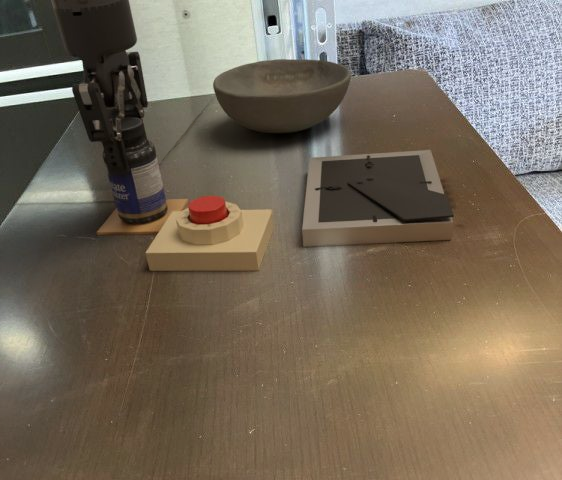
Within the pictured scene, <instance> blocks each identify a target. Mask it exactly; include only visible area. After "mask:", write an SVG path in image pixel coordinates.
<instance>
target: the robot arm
mask: <svg viewBox="0 0 562 480" xmlns="http://www.w3.org/2000/svg"><path fill="white" fill-rule="evenodd" d="M50 2H51V4H52V8H53V12H54V15H55V19H56V24H57V26H58V29H59V33H60V37H61V40H62V43H63V47H64V50H65V52H66V53H67V55H69V56H71V57H74V58H75V57H77V58H78V59H80V61H81V63H82V71H83V81H82V82H80V83H73V84H72V86H71V90H72V95H73V98H74V100H75V103H76V106H77V109H78V112H79V114H80V117H81V120H82V123H83V126H84V128H85V131H86V134H87V137H88V140H89V141H90V143H96V142H97V143H101V144H102V147H103V151H105V155H106V159H107V162H108V166H109V170H110V172H111V173H112V174H113V175H125V174H127V173H128V172H129V171H130V165H129V161H128V157H127V153H126V149H125V145H124V141H123V139H122V131H121V119H122V118H127V117H134V118H139V119H141V120H142V121H143V125H144V126H145V124H144V118H145V110H144V108H145V109H147V108H148V107H149V105H148V104H149V101H148V96H147V89H146V84H145V78H144V73H143V68H142V61H141V55H140V53H139V51H128V50H130V49H132V48H133V47H135V46H136V44H137V43H138V37H137V32H136V28H135V23H134V18H133V13H132V8H131V4H130V0H50ZM107 108H110V109H107ZM111 120H112V125H111V122H110V121H111ZM112 126H113V128H112ZM144 138H145V139H147V140H148V137H147V131H145V133H144Z"/></svg>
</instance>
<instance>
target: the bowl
mask: <svg viewBox="0 0 562 480" xmlns="http://www.w3.org/2000/svg"><path fill="white" fill-rule="evenodd" d="M351 79H352V72H351V70H350V69H349V68H348V67H346V66H345V65H343V64H339V63H336V62H333V61H329V60H322V59H321V60H320V59H308V58H307V59H306V58H305V59H293V58H292V59H288V58H287V59H286V58H285V59H284V58H279V59H278V58H277V59H271V60H270V59H269V60H267V59H266V60H260V61H255V62H250V63H245V64H241V65H239V66H236V67H233V68H231V69H228V70H226V71H223V72H221V73H220V74H218V75H217V76H216V77H215V78H214V79H213V81H212V87H213V93H214V94H215V97H216V100H217V103H218V104H219V106H220V107H221V109H222V110H223V112H224V113H225V114H226V115H227V116H228V117H229V118H230V119H231V120H232V121H233V122H235V123H236V124H237V125H239V126H241V127H243V128H246V129H248V130H251V131H255V132H259V133H264V134H290V133H297V132H301V131H305V130H308V129H310V128H312V127H314V126H316V125H318V124H320V123H321V122H323V121H324V120H326V119H327V118H329V117H330V116H331V115H332V114H333V113H334V112H335V111H336V110H337V109H338V107H339V106H340V104H342V102H343V100H344V98H345V96H346V94H347V92H348V89H349V86H350V83H351Z"/></svg>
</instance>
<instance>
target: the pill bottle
mask: <svg viewBox="0 0 562 480" xmlns="http://www.w3.org/2000/svg"><path fill="white" fill-rule="evenodd" d="M110 122H111V125H112V119H110ZM143 123H144V120H143V121H142V120H141V119H139V118H134V117H127V118H122V119H121V131H122V139H123V141H124V145H125V149H126V153H127V157H128V161H129V165H130V171H129V172H128V173H127V174H125V175H113V174H112V173H111V172H110V170H109V166H108V162H107V159H106V155H105V151H104V150H102V158H103V163H104V165H105V171H106V174H107V177H108V182H109V185H110V189H111V193H112V196H113V200H114V203H115V207H116V208H117V211H118V215H119V218H120V219H121V220H122V221H124V222H126V223H131V224H144V223H148V222H152V221H154V220H157V219H159V218H161V217H162V216H163V215H164V214H165V213H166V212H167V209H168V208H167V202H166V199H167V198H166V193H165V188H164V184H163V183H164V182H163V179H162V175H161V169H160V164H159V161H158V155H157V150H156V147H155V145H154V143H153V142H152V141H151V140H149V139H148V138H147V139H145V138H144V133H145V132H146V128H145V124H144V125H143ZM112 128H113V126H112ZM116 208H115V209H116Z"/></svg>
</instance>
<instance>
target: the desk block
mask: <svg viewBox="0 0 562 480" xmlns="http://www.w3.org/2000/svg"><path fill="white" fill-rule="evenodd" d="M225 202H226V209H227V215H228V216H227V218H225V219H224V220H222V221H220V222H216V223H212V224H206V225H197V224H194V223H192V222H191V219H190V214H189V209H188V207H187V208H184V210H183V211H173V212H172V213H171V214H170V216H169V217H168V219H167V221H166V222H165V224H164V225H163V227H162V228H161V230H160V231H159V233H158V234H156V236H155V238H154V239H153V240H152V242H151V243H150V245H149V246H148V248H147V249H146V251H145V253H144V254H145V258H146V261H147V265H148V270H149V271H150V272H158V271H159V272H174V271H176V272H177V271H178V272H179V271H181V272H183V271H184V272H186V271H187V272H195V271H196V272H197V271H198V272H201V271H202V272H203V271H204V272H205V271H206V272H207V271H209V272H210V271H213V272H214V271H216V272H218V271H219V272H221V271H227V272H230V271H233V272H235V271H237V272H238V271H247V272H248V271H251V272H252V271H254V272H255V271H259V270H260V268H261V265H262V262H263V259H264V257H265V254H266V251H267V249H268V246H269V244H270V240H271V237H272V234H273V232H274V229H275V217H274V210H273V209H271V208H269V209H241V208H240V207H239V206H238V205H237V204H236V203H233V202H229V201H225Z"/></svg>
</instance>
